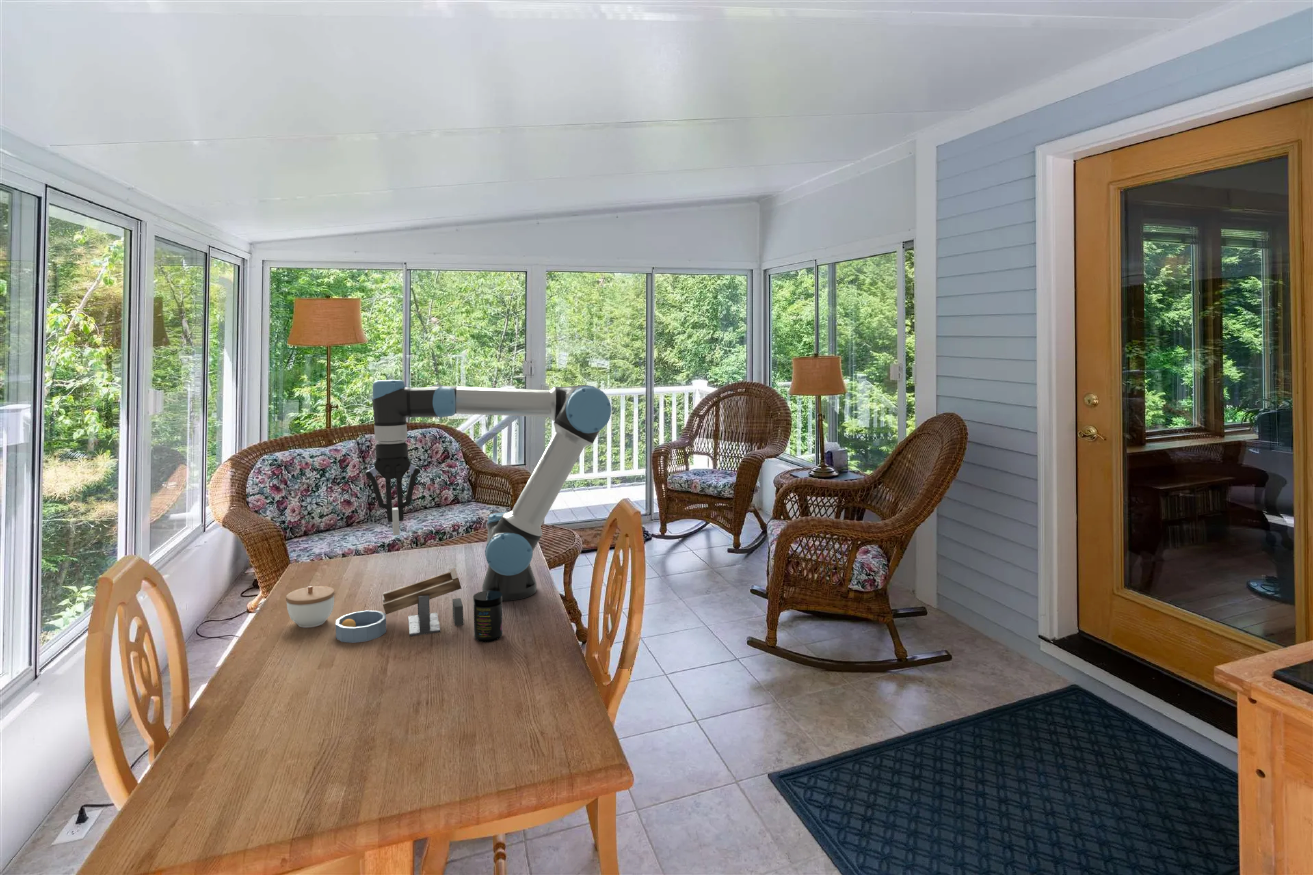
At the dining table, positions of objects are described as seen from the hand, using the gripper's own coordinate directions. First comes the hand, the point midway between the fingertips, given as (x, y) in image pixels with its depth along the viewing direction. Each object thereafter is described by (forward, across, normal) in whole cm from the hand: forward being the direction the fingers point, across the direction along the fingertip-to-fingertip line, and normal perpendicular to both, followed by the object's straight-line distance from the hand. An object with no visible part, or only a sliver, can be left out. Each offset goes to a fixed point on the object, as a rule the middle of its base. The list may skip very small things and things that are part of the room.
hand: (396, 533), depth 169 cm
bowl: (+22, +9, +8) cm, 25 cm away
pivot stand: (+22, -5, +8) cm, 24 cm away
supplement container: (+22, -19, +22) cm, 36 cm away
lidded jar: (+22, +21, -3) cm, 30 cm away
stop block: (+22, -13, +9) cm, 27 cm away
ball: (+19, +12, +8) cm, 24 cm away
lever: (+14, -5, +6) cm, 16 cm away
